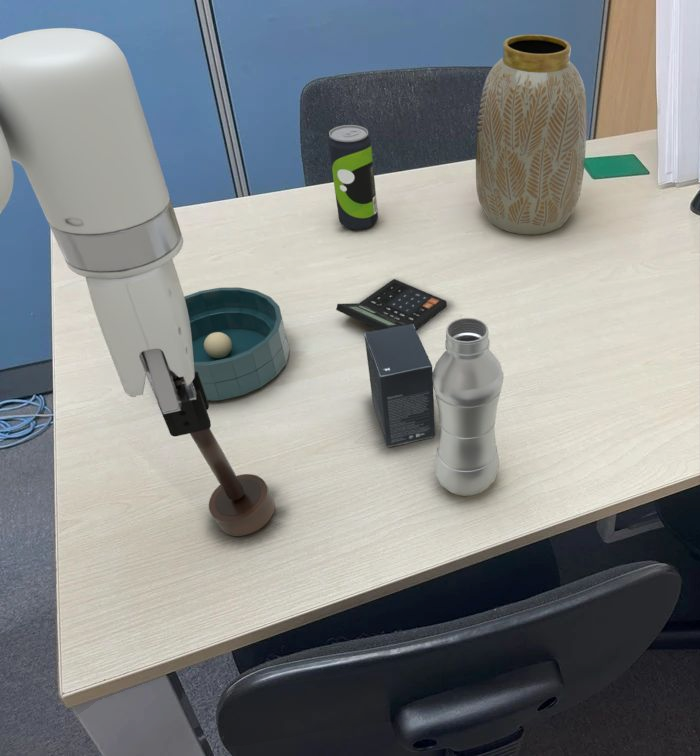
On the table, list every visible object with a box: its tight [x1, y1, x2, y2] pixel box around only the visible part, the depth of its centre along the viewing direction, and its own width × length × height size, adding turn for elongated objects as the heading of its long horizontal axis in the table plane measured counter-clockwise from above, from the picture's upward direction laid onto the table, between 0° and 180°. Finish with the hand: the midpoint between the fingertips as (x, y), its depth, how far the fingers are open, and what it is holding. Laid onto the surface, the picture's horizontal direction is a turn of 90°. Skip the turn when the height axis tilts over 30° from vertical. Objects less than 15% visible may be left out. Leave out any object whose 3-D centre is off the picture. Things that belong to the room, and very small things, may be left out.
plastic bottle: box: [432, 317, 504, 497], centre depth 68 cm, size 6×7×20 cm
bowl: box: [184, 286, 290, 401], centre depth 85 cm, size 15×15×6 cm
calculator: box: [335, 278, 448, 331], centre depth 95 cm, size 9×12×3 cm
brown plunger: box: [174, 380, 276, 537], centre depth 63 cm, size 6×6×19 cm
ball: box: [204, 332, 232, 358], centre depth 86 cm, size 3×3×3 cm
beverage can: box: [327, 124, 379, 232], centre depth 109 cm, size 6×6×15 cm
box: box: [363, 324, 436, 448], centre depth 77 cm, size 8×6×11 cm
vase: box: [475, 34, 588, 236], centre depth 109 cm, size 17×17×27 cm
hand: (190, 420), depth 60 cm, fingers closed on brown plunger
